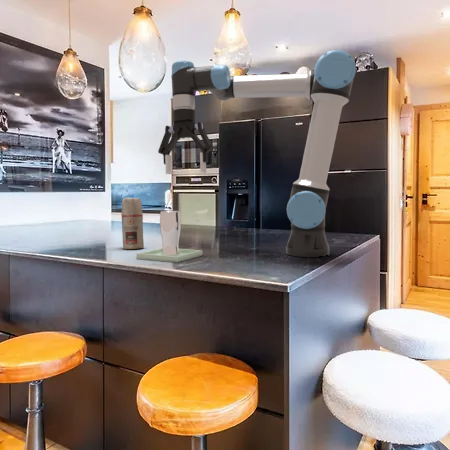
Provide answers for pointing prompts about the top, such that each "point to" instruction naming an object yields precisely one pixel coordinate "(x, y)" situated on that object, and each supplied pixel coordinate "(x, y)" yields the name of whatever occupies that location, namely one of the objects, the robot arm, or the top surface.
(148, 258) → the tray
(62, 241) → the top surface
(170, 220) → the beer glass
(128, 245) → the spray can
